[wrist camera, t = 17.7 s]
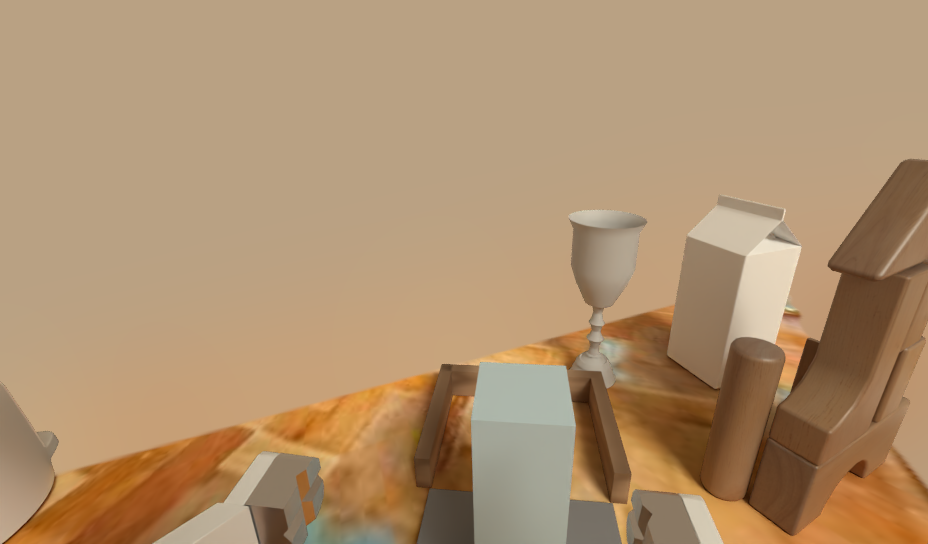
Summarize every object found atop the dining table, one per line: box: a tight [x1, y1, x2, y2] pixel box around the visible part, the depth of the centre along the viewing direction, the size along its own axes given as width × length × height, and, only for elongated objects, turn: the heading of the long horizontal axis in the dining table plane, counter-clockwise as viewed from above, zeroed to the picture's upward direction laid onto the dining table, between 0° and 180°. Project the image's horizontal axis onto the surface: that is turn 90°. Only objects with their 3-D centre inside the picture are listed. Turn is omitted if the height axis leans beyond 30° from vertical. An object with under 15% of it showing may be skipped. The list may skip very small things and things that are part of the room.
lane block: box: [471, 362, 576, 544], centre depth 26 cm, size 5×5×14 cm
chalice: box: [569, 210, 647, 388], centre depth 45 cm, size 7×7×18 cm
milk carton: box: [667, 195, 802, 389], centre depth 46 cm, size 7×7×19 cm
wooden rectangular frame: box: [414, 364, 631, 504], centre depth 39 cm, size 16×13×3 cm
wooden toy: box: [700, 159, 928, 536], centre depth 31 cm, size 16×7×25 cm, turn 118°
